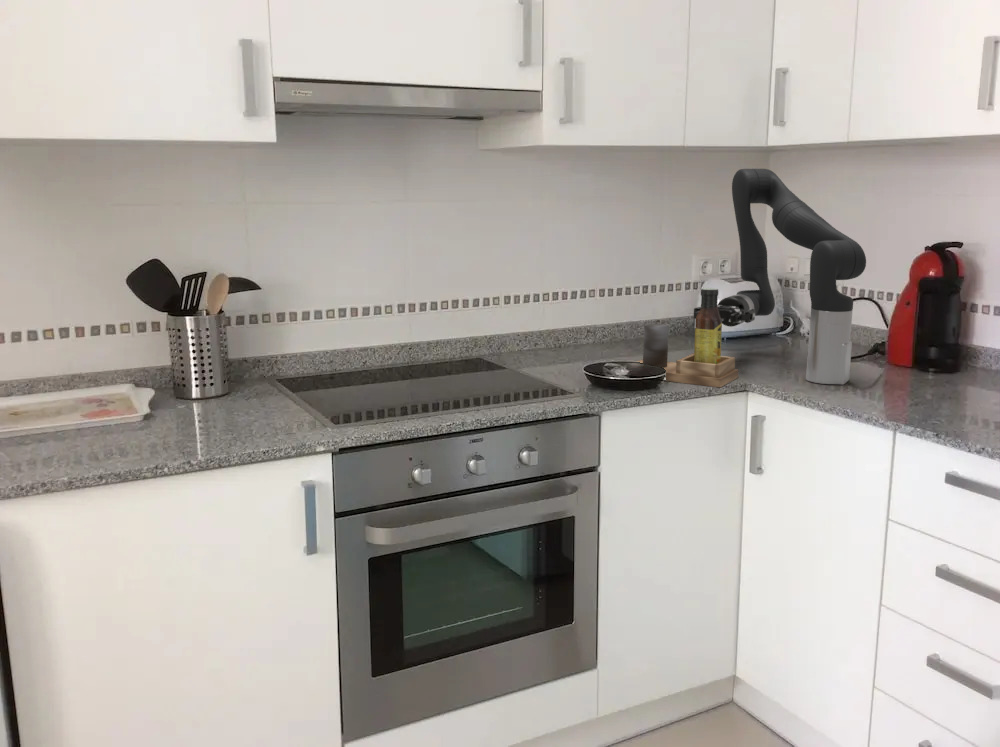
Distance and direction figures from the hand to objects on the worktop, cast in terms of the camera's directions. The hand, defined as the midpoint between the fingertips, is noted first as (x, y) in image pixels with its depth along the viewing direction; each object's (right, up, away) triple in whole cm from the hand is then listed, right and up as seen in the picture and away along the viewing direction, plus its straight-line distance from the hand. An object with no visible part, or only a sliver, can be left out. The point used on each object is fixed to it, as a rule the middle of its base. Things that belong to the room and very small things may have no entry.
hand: (714, 317), depth 215 cm
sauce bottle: (-2, -13, -1) cm, 13 cm away
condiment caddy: (-8, -14, +2) cm, 16 cm away
